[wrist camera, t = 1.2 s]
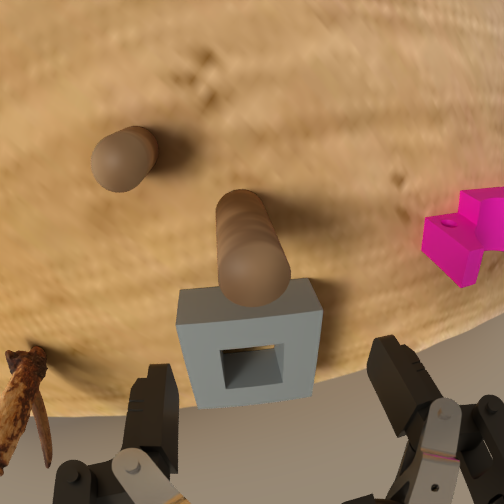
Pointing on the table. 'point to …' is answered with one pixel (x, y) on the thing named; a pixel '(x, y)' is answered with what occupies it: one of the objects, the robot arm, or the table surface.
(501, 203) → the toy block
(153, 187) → the table surface
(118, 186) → the short walnut pin
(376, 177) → the table surface
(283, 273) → the tall walnut pin
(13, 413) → the lashed bone hook
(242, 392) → the slate block
